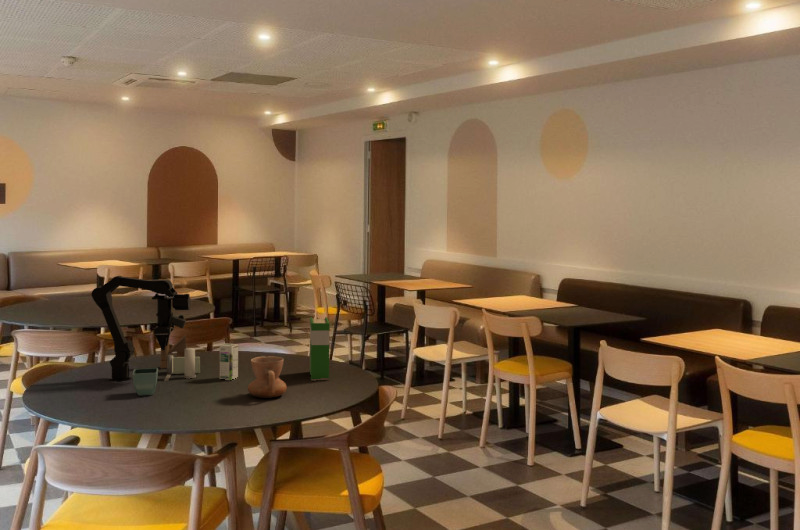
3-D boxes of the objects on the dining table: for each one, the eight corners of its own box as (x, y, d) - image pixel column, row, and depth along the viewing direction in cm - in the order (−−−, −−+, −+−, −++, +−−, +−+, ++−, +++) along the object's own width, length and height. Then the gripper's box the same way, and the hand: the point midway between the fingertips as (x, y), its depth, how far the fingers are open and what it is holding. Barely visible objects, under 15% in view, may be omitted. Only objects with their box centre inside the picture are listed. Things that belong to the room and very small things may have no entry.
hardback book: (309, 371, 326) (310, 317, 325) (326, 371, 328) (327, 317, 326) (311, 381, 309) (311, 323, 307) (329, 380, 310) (329, 323, 308)
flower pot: (132, 397, 278) (132, 373, 277) (134, 391, 286) (133, 368, 286) (157, 396, 280) (157, 372, 279) (158, 390, 289) (158, 367, 288)
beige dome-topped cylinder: (193, 379, 309) (193, 350, 308) (181, 378, 310) (181, 349, 309) (197, 376, 314) (197, 348, 313) (186, 375, 315) (186, 347, 314)
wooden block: (186, 367, 331) (185, 327, 330) (160, 369, 327) (160, 328, 326) (185, 365, 335) (185, 326, 333) (160, 367, 331) (159, 327, 330)
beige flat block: (172, 373, 317) (172, 357, 317) (173, 372, 320) (173, 356, 319) (199, 372, 319) (199, 357, 319) (200, 371, 322) (200, 356, 321)
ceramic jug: (245, 391, 289) (245, 355, 288) (283, 389, 293) (283, 353, 292) (250, 403, 272) (250, 364, 271) (290, 401, 276) (290, 363, 275)
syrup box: (219, 379, 309) (218, 345, 308) (226, 376, 314) (226, 342, 313) (231, 380, 307) (231, 345, 306) (238, 377, 313) (238, 343, 312)
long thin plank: (168, 371, 323) (168, 353, 322) (173, 371, 323) (173, 353, 322) (163, 381, 305) (163, 361, 304) (168, 380, 305) (168, 361, 305)
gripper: (182, 313, 298) (182, 351, 300) (186, 307, 317) (187, 343, 318) (153, 313, 296) (153, 352, 297) (159, 307, 315) (159, 344, 316)
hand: (164, 348), depth 307 cm, fingers open, 9 cm apart
